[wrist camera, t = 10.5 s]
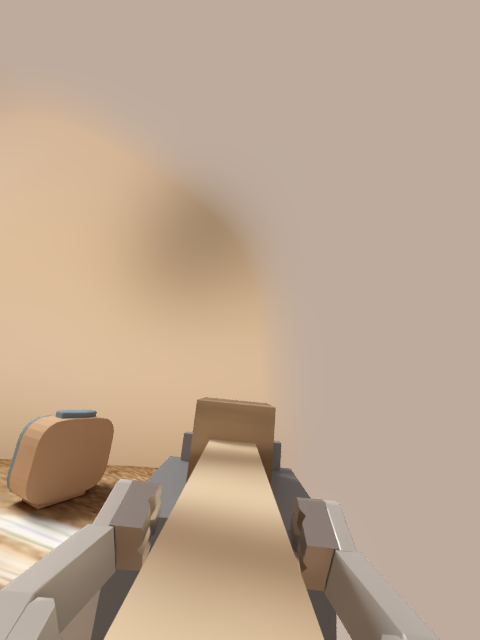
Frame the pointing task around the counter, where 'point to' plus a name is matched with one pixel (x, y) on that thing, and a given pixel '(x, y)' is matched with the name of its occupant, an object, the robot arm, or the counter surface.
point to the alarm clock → (60, 457)
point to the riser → (172, 487)
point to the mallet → (222, 544)
